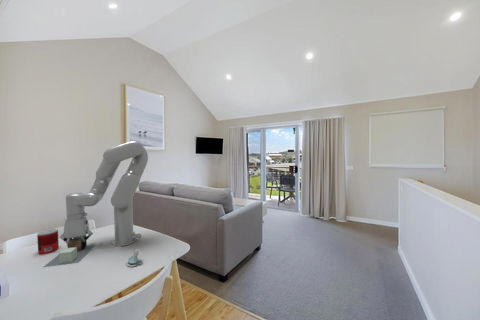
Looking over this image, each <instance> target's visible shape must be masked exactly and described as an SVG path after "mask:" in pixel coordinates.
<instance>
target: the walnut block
mask: <svg viewBox="0 0 480 320" xmlns="http://www.w3.org/2000/svg"><path fill="white" fill-rule="evenodd" d="M73 247H77V251H81V250H82V239H81V237H76V238H72V239H71V240H70V241H69V242H68V247H67V248H73Z"/></svg>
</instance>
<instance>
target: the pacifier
mask: <svg viewBox="0 0 480 320" xmlns="http://www.w3.org/2000/svg"><path fill="white" fill-rule="evenodd" d="M139 254H140V252H139V250H138V249H134V251H133V255H131V256H130V257H128V261H127V262H126V264H125V265H126V267H129V268H133V267H136V266H138V265H139V263H140V262H141V261H143V258H140V259H139V257H138V255H139Z"/></svg>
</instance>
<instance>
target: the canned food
mask: <svg viewBox="0 0 480 320" xmlns="http://www.w3.org/2000/svg"><path fill="white" fill-rule="evenodd" d="M36 237H37V253H38V255H47V254H48V255H49V254H51V253H54V252H56V251H58V250H59V247H60V245H59V229H58V228H50V229H46V230H45V229H44V230H41V231H39V232H38V233H37V236H36Z"/></svg>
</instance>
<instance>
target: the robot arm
mask: <svg viewBox="0 0 480 320" xmlns="http://www.w3.org/2000/svg"><path fill="white" fill-rule="evenodd" d="M102 158H103V159H102V160H101V162H100V164H99V166H98V168H97V170H96V172H95V179H94V182H93V185H92V186H91V188H90V190H89V192H86V193H83V192H72V193H71V192H70V193H68V194H66V196H65V208H66V219H65V221H64V227H63V233H62V234H61V235H60V236H59V239H61V240H62V241H63V242H65V243H66V244H67V247H66V248H68V242H69V241H70V240H71V239H73V238H76V237H81V239H82V249H84V248H85V247H86V246H87V245H88V244H87V243H88V242H87V240H89V238H91V237H92V235H93V234H94V232H93V231H92V230H90V225H89V219H88V218H87V216H88V213H87V212H85V207H94V206H96V205H97V204H98V203H100V202H101V200H102V199H103V197H104V195H106V192H107V190H108V188H109V186H110V183H111V182H112V181H113V178H114V176H115V174H116V172H117V170H118V168H119V166H120V164H121V162H124V161H126V160H129V159H131V161H130V163H129V166H128V167H127V169H126V171H125V173H124V174H123V175H122V176H121V177H120V179H119V181H118V183H117V185H116V187H115V190H113V194H112V196H111V197H110V204H111V205H112V206H113V224H114V239H113V240H112V241H111V245H112V247H126V246H128V245H132V244H134V243H135V242H136V241H137V239H141V238H142V234H141V233H136V231H134V210H133V208H134V205H133V204H134V202H133V201H134V199H133V198H134V195H135V194H136V192H137V190H138V187H139V185H140V182H141V179H142V176H143V173H144V171H145V169H146V167H147V165H148V161H149V155H148V151H147V149H146V148H145V146H144V144H142V143H141V142H139V141H136V140H131V141H128V142H125V143H122V144H119V145H116V146H113V147H110V148H107V149H106V150H105V151H104V152H103V154H102Z"/></svg>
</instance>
